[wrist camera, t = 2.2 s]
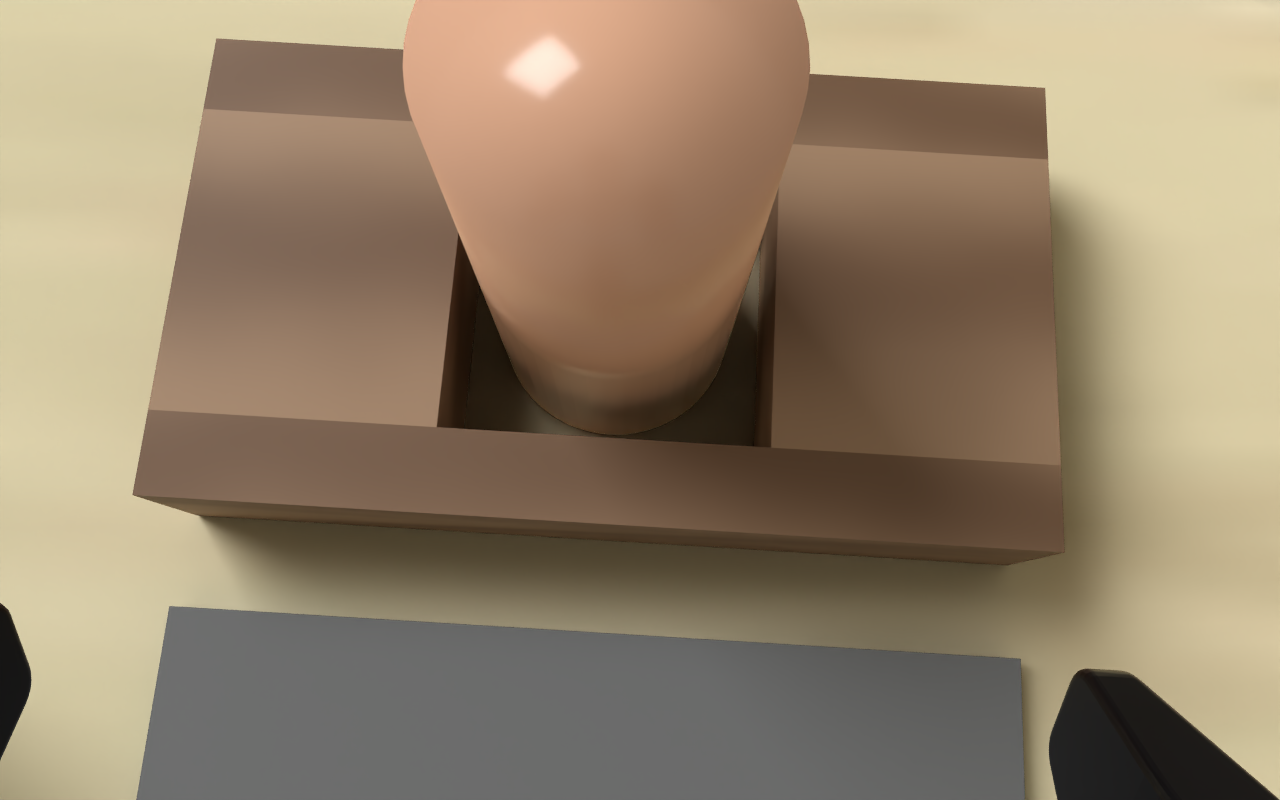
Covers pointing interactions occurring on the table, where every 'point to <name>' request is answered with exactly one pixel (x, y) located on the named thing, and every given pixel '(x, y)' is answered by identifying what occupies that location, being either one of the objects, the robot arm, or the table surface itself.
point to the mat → (564, 716)
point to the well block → (598, 466)
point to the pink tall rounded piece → (609, 181)
